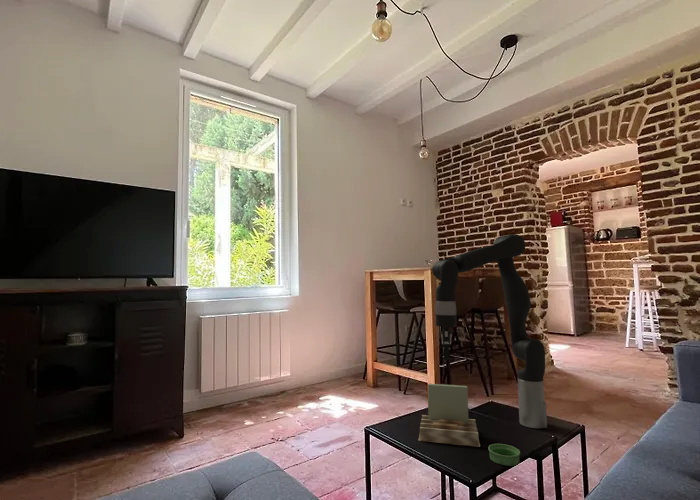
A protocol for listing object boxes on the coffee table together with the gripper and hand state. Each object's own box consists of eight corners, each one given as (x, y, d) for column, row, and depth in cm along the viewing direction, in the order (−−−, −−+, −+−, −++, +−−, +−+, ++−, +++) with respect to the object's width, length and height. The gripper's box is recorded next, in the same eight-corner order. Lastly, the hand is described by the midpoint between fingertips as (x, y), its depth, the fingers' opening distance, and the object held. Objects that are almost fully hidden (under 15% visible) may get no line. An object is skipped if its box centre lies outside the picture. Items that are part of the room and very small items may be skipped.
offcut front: (457, 439, 127) (457, 424, 128) (457, 442, 125) (457, 426, 126) (433, 437, 129) (433, 422, 130) (433, 439, 127) (433, 424, 128)
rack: (477, 435, 135) (476, 419, 136) (480, 451, 122) (480, 433, 122) (420, 430, 140) (420, 414, 141) (418, 445, 127) (418, 428, 127)
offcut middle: (463, 435, 131) (462, 420, 131) (463, 437, 129) (463, 422, 130) (439, 433, 133) (439, 418, 133) (439, 435, 131) (439, 420, 132)
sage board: (468, 431, 135) (467, 386, 136) (468, 433, 133) (467, 387, 134) (428, 428, 138) (428, 383, 140) (428, 430, 136) (427, 384, 138)
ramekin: (525, 473, 108) (524, 457, 108) (492, 471, 109) (492, 455, 109) (515, 459, 117) (514, 444, 117) (485, 457, 118) (485, 442, 118)
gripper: (456, 314, 132) (458, 362, 130) (455, 312, 146) (456, 355, 144) (435, 314, 134) (435, 360, 132) (436, 312, 147) (436, 354, 146)
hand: (446, 357), depth 138 cm, fingers open, 8 cm apart
